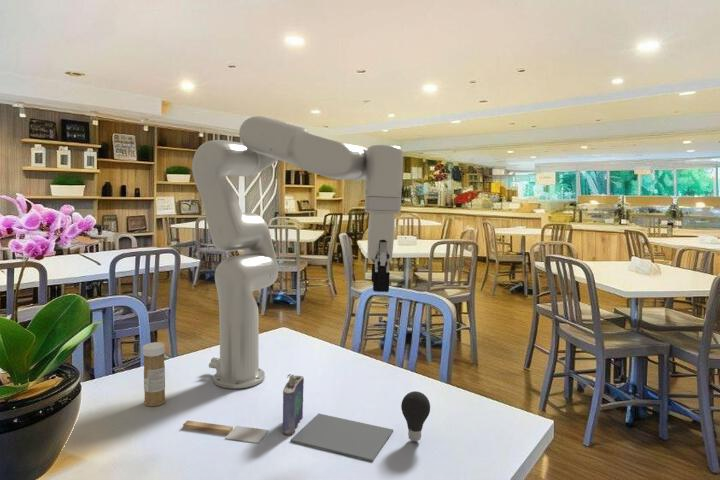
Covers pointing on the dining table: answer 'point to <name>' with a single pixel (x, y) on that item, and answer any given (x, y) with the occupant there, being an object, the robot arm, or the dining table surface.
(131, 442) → the dining table surface
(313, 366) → the dining table surface
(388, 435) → the slate board
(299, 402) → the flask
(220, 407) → the dining table surface
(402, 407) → the light bulb
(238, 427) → the turner
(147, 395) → the sprinkles bottle
